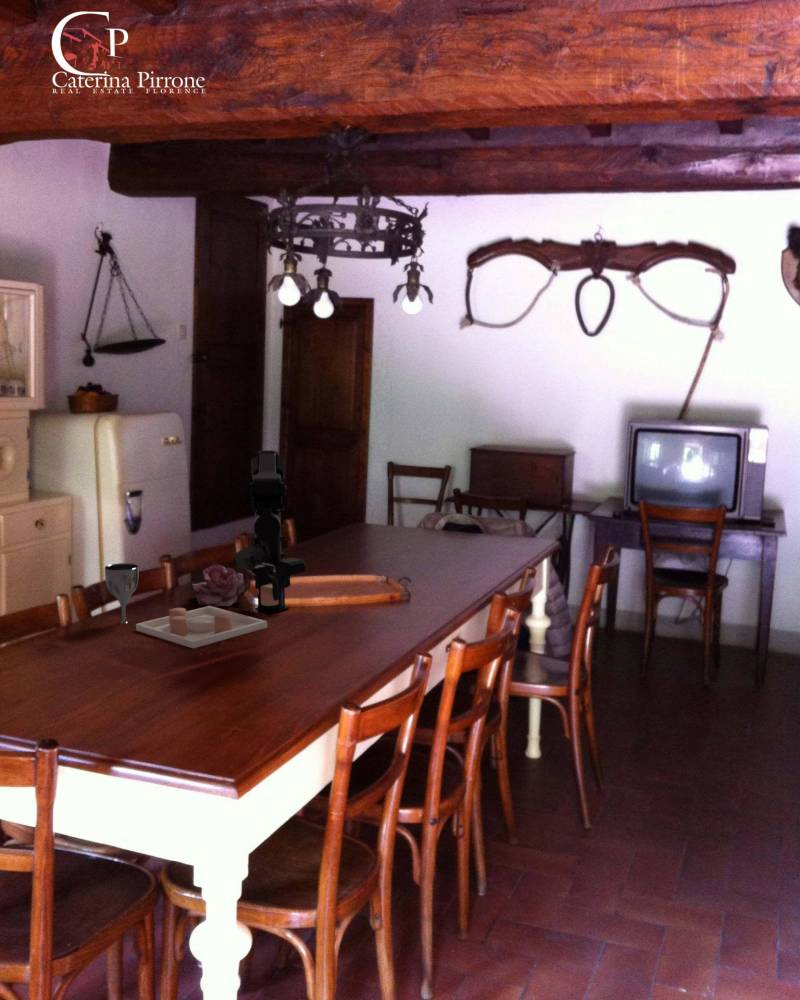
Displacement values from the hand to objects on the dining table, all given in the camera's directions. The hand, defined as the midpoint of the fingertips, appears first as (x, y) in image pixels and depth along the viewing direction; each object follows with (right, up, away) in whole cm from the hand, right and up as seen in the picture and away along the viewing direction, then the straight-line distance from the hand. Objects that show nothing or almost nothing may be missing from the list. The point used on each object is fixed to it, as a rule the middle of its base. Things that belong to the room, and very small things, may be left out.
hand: (269, 598), depth 231 cm
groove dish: (-18, -9, +10) cm, 22 cm away
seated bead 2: (-22, -9, +5) cm, 24 cm away
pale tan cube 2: (0, -1, 0) cm, 1 cm away
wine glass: (-38, -9, +16) cm, 42 cm away
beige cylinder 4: (-24, -8, +13) cm, 28 cm away
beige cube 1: (-12, -9, +7) cm, 16 cm away
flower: (-18, -5, +37) cm, 41 cm away
